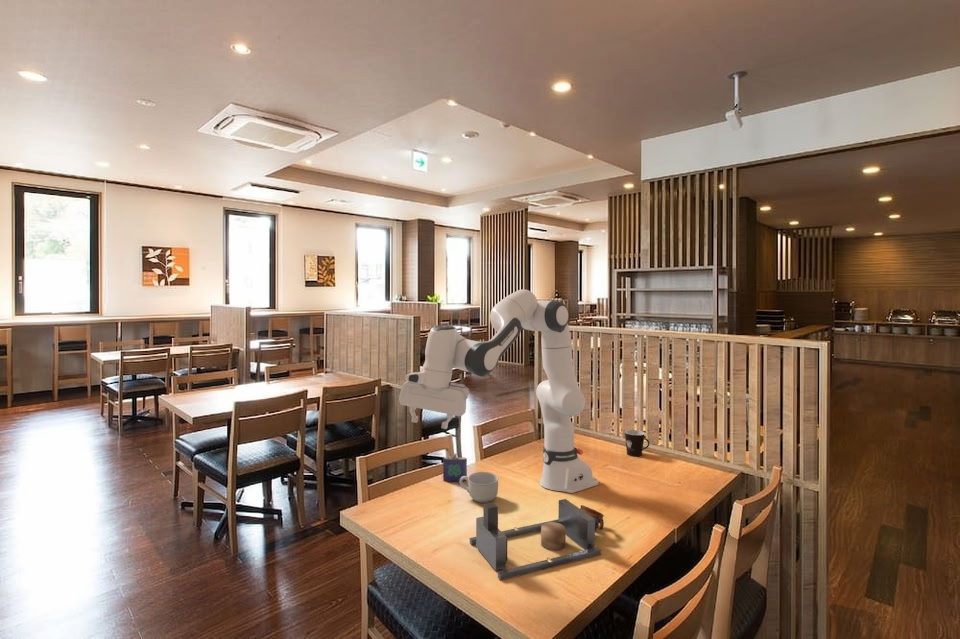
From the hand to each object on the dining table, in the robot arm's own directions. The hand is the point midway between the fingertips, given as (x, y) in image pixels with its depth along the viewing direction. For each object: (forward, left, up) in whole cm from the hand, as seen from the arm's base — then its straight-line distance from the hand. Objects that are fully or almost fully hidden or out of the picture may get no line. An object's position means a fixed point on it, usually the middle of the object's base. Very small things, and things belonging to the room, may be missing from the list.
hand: (429, 425), depth 148 cm
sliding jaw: (-11, +20, -33) cm, 40 cm away
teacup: (-24, -18, -34) cm, 45 cm away
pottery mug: (-45, +17, -34) cm, 59 cm away
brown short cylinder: (-31, +20, -34) cm, 50 cm away
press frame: (-25, +20, -33) cm, 46 cm away
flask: (-22, -37, -34) cm, 55 cm away
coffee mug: (-107, -33, -34) cm, 117 cm away
